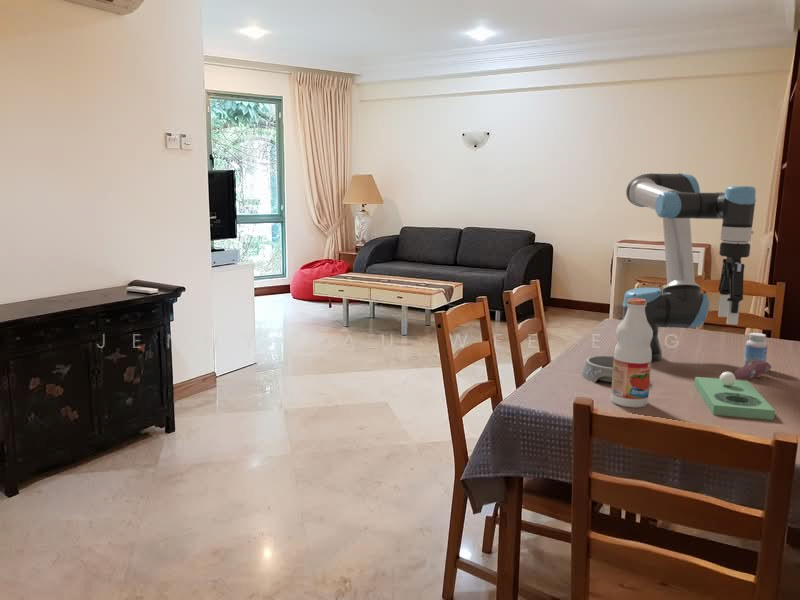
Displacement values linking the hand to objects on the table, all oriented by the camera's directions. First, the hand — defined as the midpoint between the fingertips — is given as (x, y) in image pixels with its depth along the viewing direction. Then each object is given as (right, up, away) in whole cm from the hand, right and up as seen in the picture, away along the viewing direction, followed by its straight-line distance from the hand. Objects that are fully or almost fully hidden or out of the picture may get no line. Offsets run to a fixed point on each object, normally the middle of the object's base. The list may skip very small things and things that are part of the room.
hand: (727, 320), depth 187 cm
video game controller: (+14, -18, +13) cm, 27 cm away
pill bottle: (+20, -16, +24) cm, 35 cm away
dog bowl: (-29, -18, +12) cm, 36 cm away
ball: (-2, -16, -4) cm, 17 cm away
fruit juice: (-32, -22, -11) cm, 40 cm away
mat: (-4, -22, -9) cm, 24 cm away
